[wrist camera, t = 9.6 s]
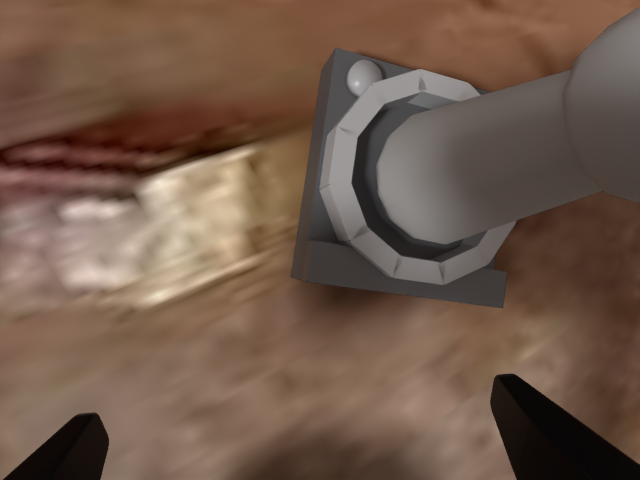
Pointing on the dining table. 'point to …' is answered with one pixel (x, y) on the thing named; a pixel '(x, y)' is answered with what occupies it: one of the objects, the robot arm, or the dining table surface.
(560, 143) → the salt shaker
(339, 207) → the ringed square socket
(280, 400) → the dining table surface
